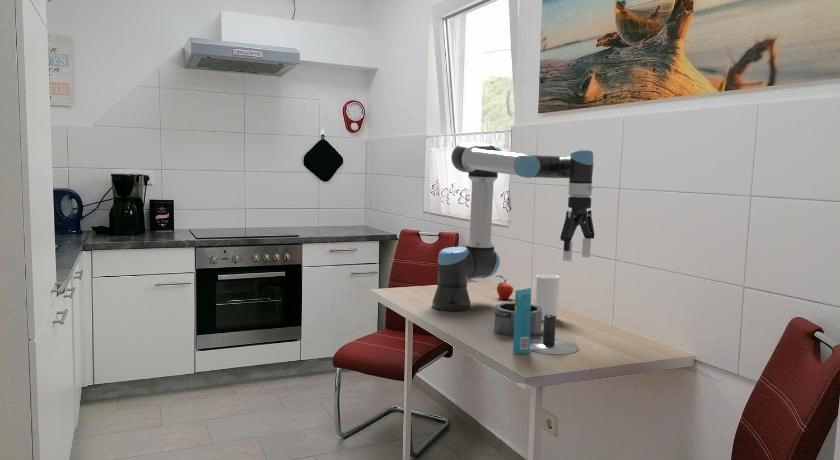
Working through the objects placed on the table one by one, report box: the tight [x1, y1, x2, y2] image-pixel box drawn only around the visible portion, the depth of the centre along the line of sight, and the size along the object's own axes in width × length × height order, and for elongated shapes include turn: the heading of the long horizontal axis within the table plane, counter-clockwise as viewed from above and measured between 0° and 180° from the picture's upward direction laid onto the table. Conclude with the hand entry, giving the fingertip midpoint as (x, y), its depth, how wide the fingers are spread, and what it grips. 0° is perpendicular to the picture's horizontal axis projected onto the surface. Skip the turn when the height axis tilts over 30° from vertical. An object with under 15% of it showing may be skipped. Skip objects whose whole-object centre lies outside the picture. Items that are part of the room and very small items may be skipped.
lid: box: [529, 315, 579, 356], centre depth 194 cm, size 18×18×10 cm
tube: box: [512, 287, 532, 355], centre depth 186 cm, size 7×5×19 cm, turn 140°
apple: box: [495, 274, 514, 300], centre depth 263 cm, size 8×7×10 cm
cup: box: [534, 273, 560, 322], centre depth 229 cm, size 8×8×16 cm
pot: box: [493, 302, 543, 337], centre depth 211 cm, size 21×16×8 cm
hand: (576, 259), depth 210 cm, fingers open, 13 cm apart
